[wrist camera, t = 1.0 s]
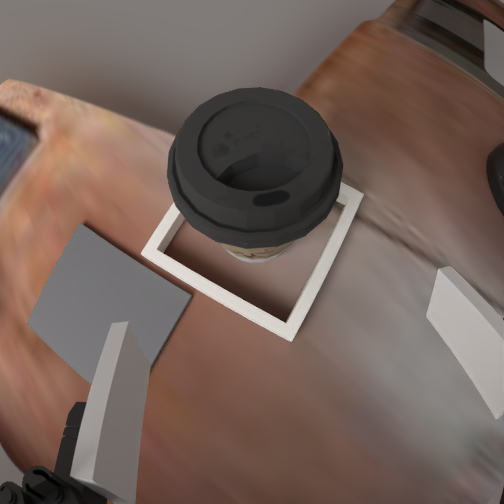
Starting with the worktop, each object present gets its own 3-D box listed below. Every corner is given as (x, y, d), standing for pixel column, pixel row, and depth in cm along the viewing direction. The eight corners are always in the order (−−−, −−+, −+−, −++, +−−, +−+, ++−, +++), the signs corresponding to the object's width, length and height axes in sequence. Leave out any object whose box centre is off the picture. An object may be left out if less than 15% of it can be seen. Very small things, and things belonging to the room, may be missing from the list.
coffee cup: (211, 296, 29) (167, 257, 15) (192, 192, 32) (152, 96, 18) (324, 269, 30) (381, 210, 15) (294, 170, 33) (315, 68, 18)
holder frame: (358, 202, 32) (363, 194, 30) (289, 340, 28) (291, 341, 26) (228, 139, 34) (226, 129, 32) (147, 258, 30) (140, 253, 28)
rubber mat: (192, 296, 29) (191, 295, 29) (128, 410, 26) (125, 411, 26) (82, 224, 32) (80, 222, 31) (30, 323, 28) (27, 323, 28)
